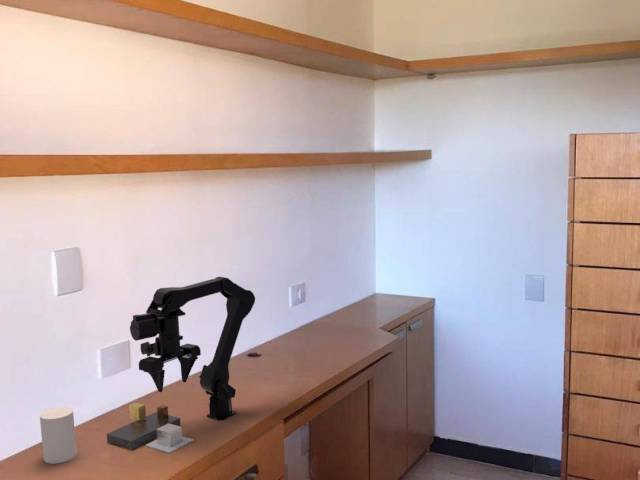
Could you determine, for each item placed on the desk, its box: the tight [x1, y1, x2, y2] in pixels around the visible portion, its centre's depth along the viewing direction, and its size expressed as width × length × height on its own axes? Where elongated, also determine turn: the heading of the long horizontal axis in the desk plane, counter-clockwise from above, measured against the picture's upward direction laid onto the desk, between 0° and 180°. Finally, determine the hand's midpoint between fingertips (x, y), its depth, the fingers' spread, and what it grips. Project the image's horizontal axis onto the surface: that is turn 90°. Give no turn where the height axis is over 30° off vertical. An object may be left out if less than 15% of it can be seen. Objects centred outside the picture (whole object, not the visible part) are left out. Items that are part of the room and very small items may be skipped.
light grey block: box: [156, 423, 183, 447], centre depth 180 cm, size 4×5×4 cm
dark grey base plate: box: [106, 404, 182, 451], centre depth 186 cm, size 18×10×6 cm, turn 146°
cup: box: [39, 406, 78, 465], centre depth 174 cm, size 8×8×12 cm
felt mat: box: [145, 435, 194, 454], centre depth 180 cm, size 9×9×1 cm
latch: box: [128, 402, 147, 421], centre depth 191 cm, size 2×4×4 cm, turn 56°
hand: (172, 386), depth 187 cm, fingers open, 9 cm apart
